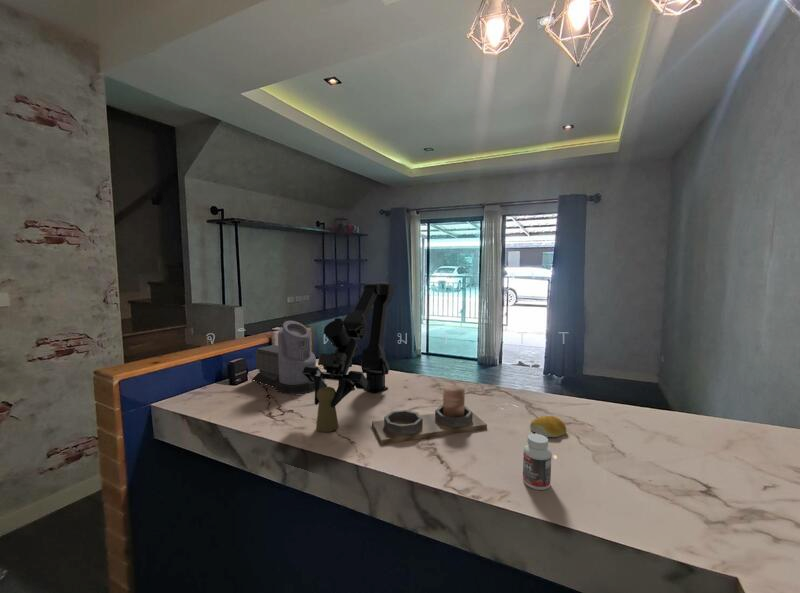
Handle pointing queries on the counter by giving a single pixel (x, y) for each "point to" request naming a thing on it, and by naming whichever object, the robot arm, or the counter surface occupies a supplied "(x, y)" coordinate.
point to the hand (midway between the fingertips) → (324, 405)
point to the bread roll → (548, 426)
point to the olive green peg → (326, 410)
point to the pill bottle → (537, 462)
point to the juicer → (287, 360)
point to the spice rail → (430, 420)
